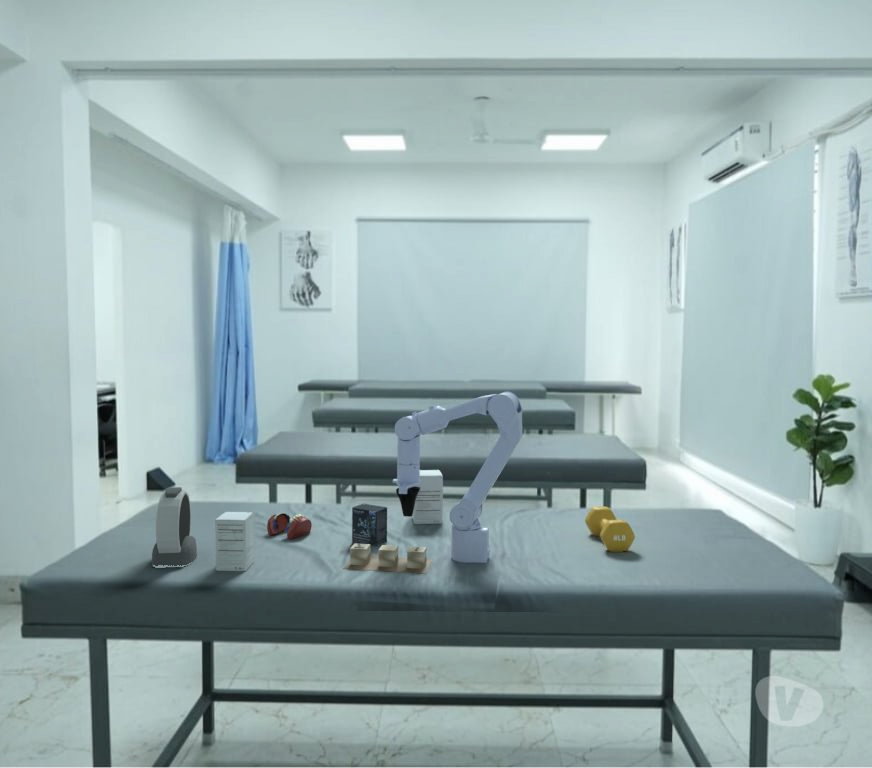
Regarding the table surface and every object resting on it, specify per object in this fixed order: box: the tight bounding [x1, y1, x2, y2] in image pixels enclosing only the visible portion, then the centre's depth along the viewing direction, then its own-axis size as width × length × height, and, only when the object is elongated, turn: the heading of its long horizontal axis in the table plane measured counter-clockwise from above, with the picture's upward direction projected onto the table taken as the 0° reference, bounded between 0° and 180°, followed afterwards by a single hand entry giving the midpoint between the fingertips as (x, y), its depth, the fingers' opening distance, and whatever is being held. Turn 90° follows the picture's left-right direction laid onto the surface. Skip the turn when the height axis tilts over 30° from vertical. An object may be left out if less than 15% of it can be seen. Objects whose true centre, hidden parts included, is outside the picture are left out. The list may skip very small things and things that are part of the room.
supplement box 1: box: [214, 511, 255, 572], centre depth 164 cm, size 7×7×13 cm
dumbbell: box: [584, 506, 636, 553], centre depth 186 cm, size 19×9×8 cm, turn 2°
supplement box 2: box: [411, 469, 444, 525], centre depth 208 cm, size 9×9×15 cm
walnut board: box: [342, 555, 433, 574], centre depth 164 cm, size 20×10×1 cm, turn 81°
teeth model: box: [266, 512, 313, 541], centre depth 193 cm, size 8×6×12 cm
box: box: [351, 503, 388, 548], centre depth 182 cm, size 8×6×11 cm
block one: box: [406, 546, 427, 569], centre depth 163 cm, size 4×4×4 cm
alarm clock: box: [151, 486, 198, 566], centre depth 169 cm, size 16×10×18 cm, turn 9°
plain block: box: [378, 544, 399, 567], centre depth 164 cm, size 4×4×4 cm
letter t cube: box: [349, 543, 371, 565], centre depth 165 cm, size 4×4×4 cm
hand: (407, 515), depth 173 cm, fingers closed
